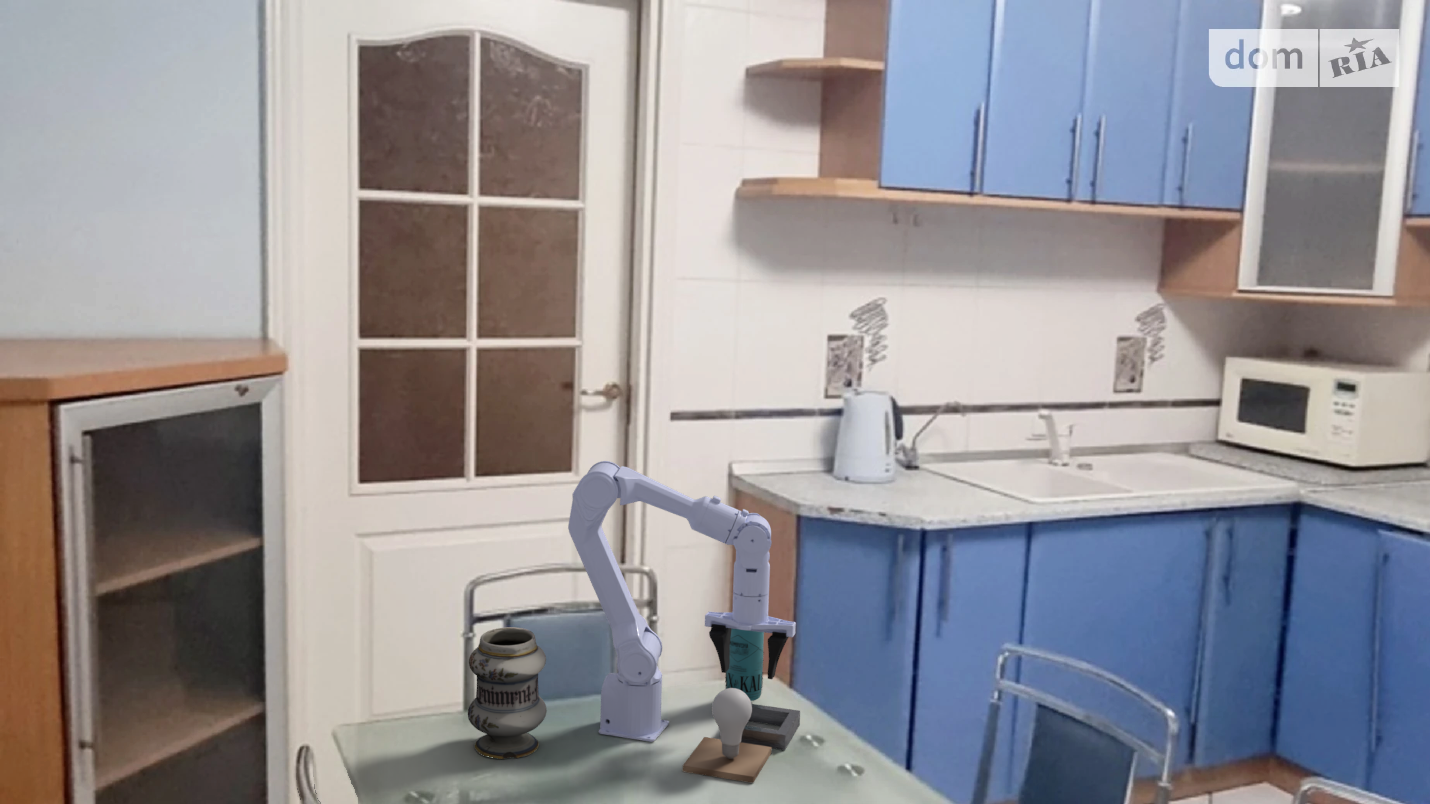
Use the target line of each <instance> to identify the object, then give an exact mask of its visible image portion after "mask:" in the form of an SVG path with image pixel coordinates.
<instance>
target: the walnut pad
mask: <svg viewBox="0 0 1430 804" xmlns="http://www.w3.org/2000/svg"><path fill="white" fill-rule="evenodd" d="M771 754H772V747H767V746H761V745H754V744H748V743H741V742H740V743H739V754H738V755H737V756H736V757H734V758H733V759H728V758H727V757H725V756H724V755H723V754H722V742H721V738H714V737H707V736H703V738H702V740H701V741H700V742H699V743H698V745H697V746H696V747H695V748H694V750H692V752H691V754H690V755H689V757H688V758H687V759H686V760H685V762H683V764H682V772H683V773H689V774H695V775H701V776H707V777H713V778H719V779H720V778H721V779H725V780H731V781H739V782H743V783H751V784H754V783H755V781H756V780H757V778H758V776H759V775H760V772H762V769H763V768H764V766H765V765H766V763H767V761H768V760H769V758H770V756H771Z"/></svg>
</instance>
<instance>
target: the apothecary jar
mask: <svg viewBox="0 0 1430 804" xmlns="http://www.w3.org/2000/svg"><path fill="white" fill-rule="evenodd" d="M546 662H547V656H546V653H545V651H544V650H543V649H542V647H540V646H539V645H538V644H537V641H536V635H535V633H534V632H532V631H531V630H529V629H527V628H525V627H524V628H523V627H512V626H511V627H510V626H509V627H507V626H506V627H498V628H494V629H490V630H487V631H486V632H483V634H481V636H480V639H479V643H478V646H477V647H476V648H475V649H474V650H473V651H472V652H471V654H470V656H469V659H468V666H469V669H470V671H471V672H472V673H473V674H474V675H475V676H476V689H475V690H476V692H475V694H476V695H475V698H474V699H473V700H472V701H471V703H470V704H469V706H468V709H467V718H468V721H469V723H470V724H471V725H472V726H473V727H474V728H475V729H476V730H478V731H479V732H481V733H484V735H482V736H481V737H479V738H478V739H476V741H475V743H474V750H475V751H476V750H477V751H476V752H477V753H478V754H479V753H480V754H479V755H481V754H482V755H481V756H483V755H484V756H483V757H485V756H489V757H493V758H498V759H497V760H505V759H504V758H507V759H510V757H511V758H512V757H514V758H513V759H519V758H520V757H521V758H524V757H527V756H530V755H531V754H533V753H534V752H536V751H537V750H538V748H539V744H540V743H539V740H538V739H537V738H536V736H534V735H533V734H531V733H530V732H531V731H534V730H535V729H537V728H538V727H539V726H540V725H541V724H542V723H543V722H544V720H545V719H546V716H547V711H548V710H547V705H546V702H545V701H544V699H543V698H542V697H541V696H540V693H539V673H540V672H542V671H543V670H544V668H545V666H546ZM523 756H524V757H523ZM493 758H492V759H493Z"/></svg>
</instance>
